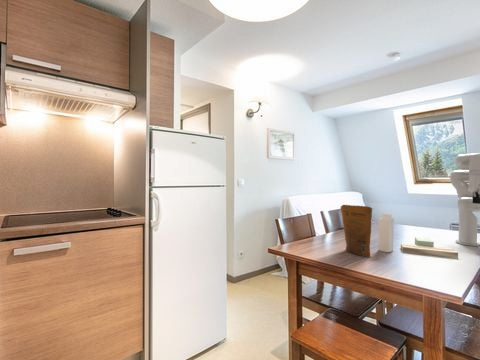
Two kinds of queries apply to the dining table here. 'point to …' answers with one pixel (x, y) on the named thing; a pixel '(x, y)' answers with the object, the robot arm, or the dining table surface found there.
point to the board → (429, 250)
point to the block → (424, 242)
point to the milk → (386, 233)
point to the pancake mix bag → (357, 229)
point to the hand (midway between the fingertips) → (476, 203)
